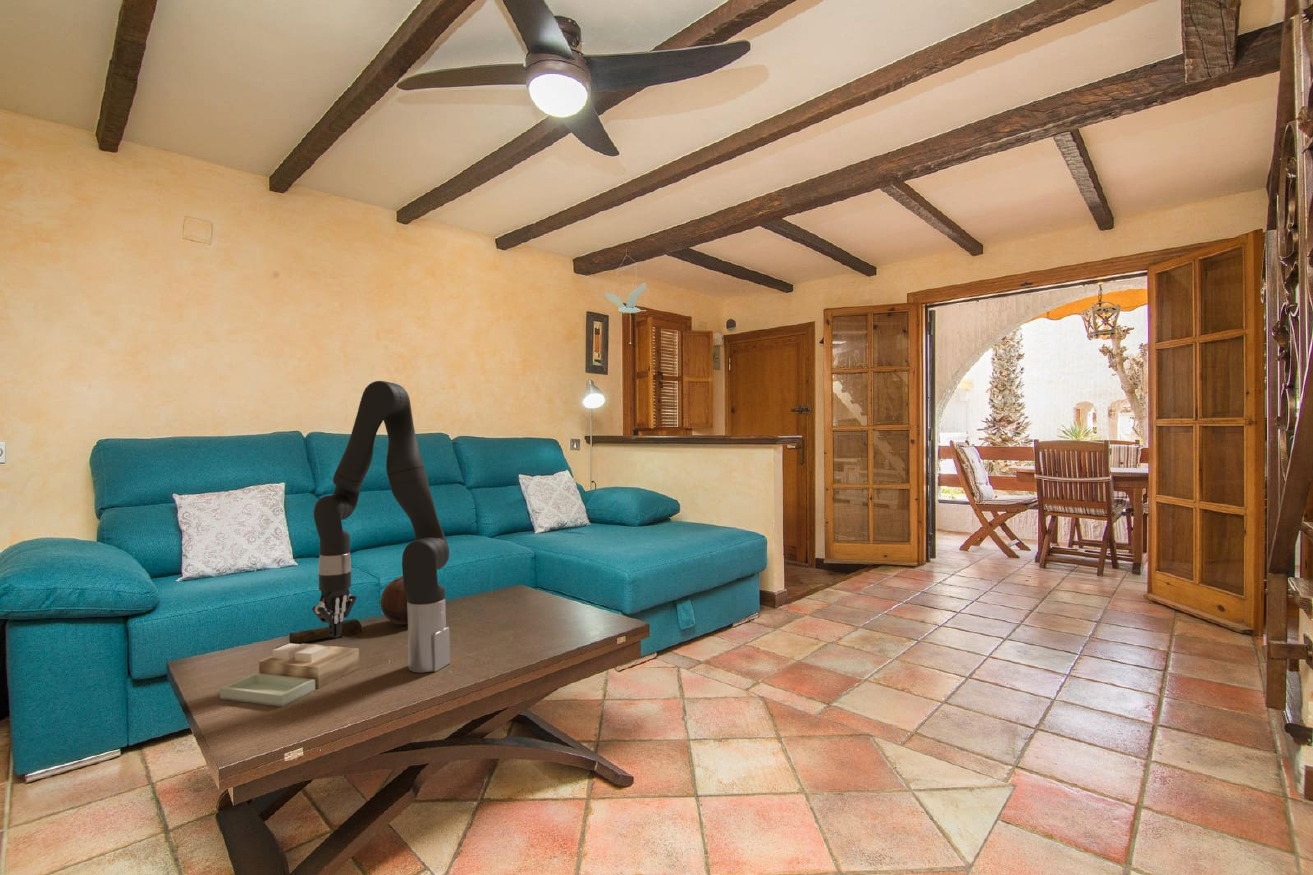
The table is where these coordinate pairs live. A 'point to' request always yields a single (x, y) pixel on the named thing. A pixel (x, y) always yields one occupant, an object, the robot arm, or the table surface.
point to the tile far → (287, 651)
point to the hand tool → (325, 632)
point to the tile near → (311, 653)
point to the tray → (267, 689)
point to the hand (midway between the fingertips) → (335, 636)
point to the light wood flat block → (315, 665)
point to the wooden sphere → (395, 602)
